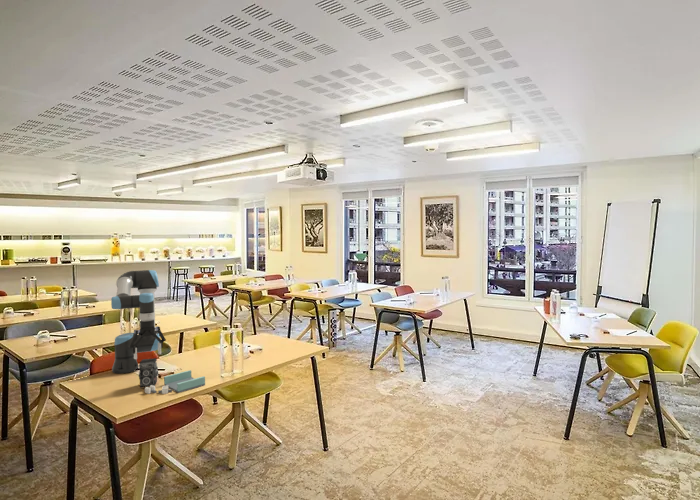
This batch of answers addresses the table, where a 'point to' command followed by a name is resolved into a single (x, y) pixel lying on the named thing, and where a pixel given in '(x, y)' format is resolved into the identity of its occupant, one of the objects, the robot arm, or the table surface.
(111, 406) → the table surface
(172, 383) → the dock
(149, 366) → the camera
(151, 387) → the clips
